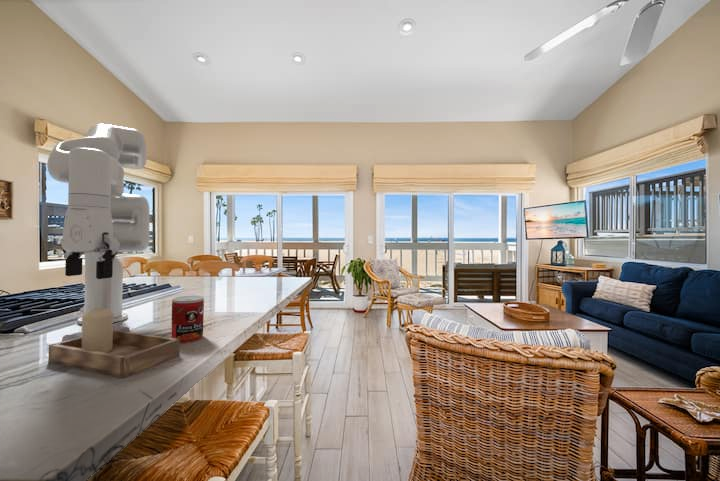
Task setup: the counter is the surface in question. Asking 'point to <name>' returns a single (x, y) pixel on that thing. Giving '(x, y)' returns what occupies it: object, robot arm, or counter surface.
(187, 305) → the canned food
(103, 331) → the candle
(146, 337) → the tray
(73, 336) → the stone block
